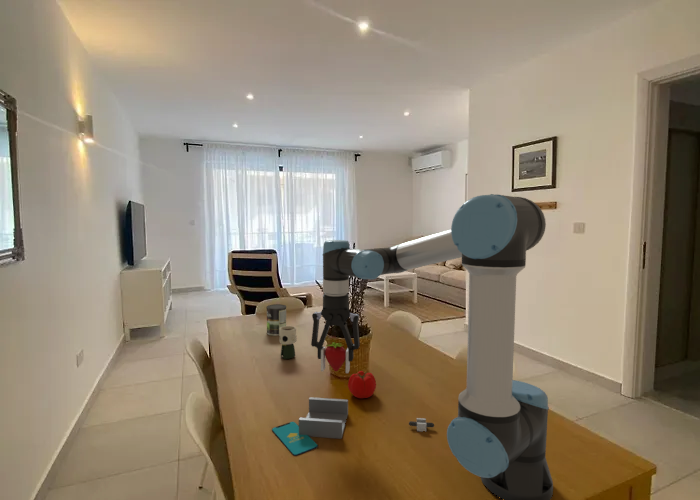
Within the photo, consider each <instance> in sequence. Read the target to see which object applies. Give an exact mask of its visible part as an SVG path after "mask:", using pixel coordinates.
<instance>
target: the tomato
mask: <svg viewBox="0 0 700 500" xmlns="http://www.w3.org/2000/svg"><path fill="white" fill-rule="evenodd" d="M376 381H377V380H376V378H375V375H373V373H372V372H367V371H366V372H364V371H363V370H359V371H358V372H356V373H353V374H351V375H350V377H349V379H348V382H347V383H348V384H347V388H348V390H349V392H350V393H351V394H352V395H353V397H355V398H357V399H367V398H370V397H372V396H373V394H374V393H375V390H376V388H377V382H376Z"/></svg>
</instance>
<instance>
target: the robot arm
mask: <svg viewBox="0 0 700 500" xmlns="http://www.w3.org/2000/svg"><path fill="white" fill-rule="evenodd" d="M546 222H547V221H546V217H545V214H544V211H543V210H542V209H541V207H540V206H539V205H538V204H537V203H535V202H534V201H533V200H530V199H529V198H526V197H521V196H511V195H504V194H503V195H502V194H492V193H491V194H482V195H477V196H473V197H472V198H470V199H467V200H466V201H465V202H464V203H462V205H461V206H460V207H459V208H458V209H457V210H456V212H455V214H454V215H453V218H452V223H451V227H450V228H449V229H446V230H442V231H440V232H436V233H433V234H430V235H426V236H423V237H420V238H417V239H413V240H410V241H407V242H403V243H400V244H395V245H394V246H389V247H382V248H380V247H379V248H367V249H358V248H357V249H356V248H351V247H350V242H349V240H345V239H342V240H341V239H329V240H326V241H324V243H323V246H322V247H323V249H322V292H323V293H324V294H322V309H321V311H314V313H312V315H311V316H312V321H313V324H312V325H313V326H312V334H311V344H310V345H311V347H313V348H316V349H317V360H320V372H324V371H325V369H326V356H325V349H326V346H324V343H325V340H326V338H327V336H328V333H329V330H330V327H333V326H337V327H340V330H341V332H342V334H343V338H344V340H345V344H346V347H347V348H346V349H345V350H346V359H345V374H349V372H350V370H351V369H350V368H351V367H350V366H351V363H350V362H353V359H354V351H355V350H359V348H360V345H361V343H360V331H359V319H360V314H359V313H352V312H351V311H350V306H349V305H350V303H349V302H350V295H349V291H350V277H353V278H359V279H362V280H376V279H378V278H379V277H380V276H384V275H390V274H401V273H404V272H407V271H408V270H412V269H416V268H417V269H418V268H422V267H425V266H430V265H434V264H435V265H436V264H439V263H444V262H448V261H451V260H455V259H456V260H457V259H460V258H461V266H462V267H463V268H464V269H465V270H466V271H467V272H468V274H469V275H468V276H469V277H468V278H469V279H468V281H469V282H468V314H467V315H468V319H467V356H466V357H467V358H466V362H467V363H466V388H465V389H464V390H462V391H461V392H460V393H459V394H458V399H457V400H458V402H457V404H458V405H457V417H454V419H452V420H451V422H450V423H449V424H448V426H447V429H446V439H447V443H448V447H449V449H450V451H451V454H452V455H453V456H454V457H455V458H456V459H457V462H459V464H460V465H461V466H462V467H463V468H464V469H465V470H467V471H468V472H469V473H471V474H473V475H475V476H477V477H480V479H481V483H482V484H483V485H485V486H486V487H487V488H488V489H489V490H490V491H491V492H492V493H494V494H495V495H497V496H498V497H500V498H502V499H504V500H550V499H551V500H552V498H553V496H552V495H553V494H554V493H553V491H554V482H553V477H552V475H551V471H550V468H549V464H548V462H547V458H546V451H547V449H546V448H547V436H548V432H547V431H548V416H549V399H548V394H546V391H544V390H542V389H541V388H540V387H537V386H535V385H533V384H531V383H528V382H524V381H520V380H514V355H515V354H514V351H515V349H514V348H515V347H514V346H515V326H516V325H515V324H516V321H515V320H516V295H517V293H516V292H517V276H518V274H519V273H520V272H522V270H524V269H525V268H526V263H527V260H526V259H527V251H529V250H531V249H533V248H534V247H535V246H536V245H538V244H539V242H540V241H542V239H543V237H544V234H545V231H546V225H547V224H546ZM322 317H323V320H325V324H324V327H323V330H322V333H321V336H320V338H319V340H318V337H319V327H320V320H321V318H322ZM349 318H350V321H351V322H352V333H353V334H352V335H353V339H352V337H351V334H350V332H349V328H348V324H347V320H348V319H349ZM485 486H484V487H485ZM486 487H485V488H486ZM487 488H486V489H487ZM488 489H487V490H488ZM489 490H488V491H489ZM490 491H489V492H490ZM491 492H490V493H491ZM492 493H491V494H492ZM494 494H493V495H494ZM495 495H494V496H495ZM497 496H496V497H497ZM498 497H497V498H498ZM551 497H552V498H551ZM500 498H499V499H500ZM502 499H501V500H502Z"/></svg>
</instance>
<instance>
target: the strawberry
mask: <svg viewBox="0 0 700 500" xmlns="http://www.w3.org/2000/svg"><path fill="white" fill-rule="evenodd" d="M333 341H334V342H333ZM333 341H332V343H331V344H327V345H326V347H325V360H326V361H327V363H328V364H329V366H330V367H331V368H332V369H333V371H334V372H338V371H339V369H340V368H341V367H342V366H343V365H344V363H346V350H347V349H345V348H344V347H343V346H344V344H342V342H337V343H336V340H335V339H333Z"/></svg>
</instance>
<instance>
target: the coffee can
mask: <svg viewBox="0 0 700 500" xmlns="http://www.w3.org/2000/svg"><path fill="white" fill-rule="evenodd" d="M284 326H287V305H285V304H282V303H281V304H278V303H277V304H269V305H267V306H266V334H267V336H268V335H269V336H271V337H272V336H274V337H276V336H277V337H280V336H279V329H280V327H284Z"/></svg>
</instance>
